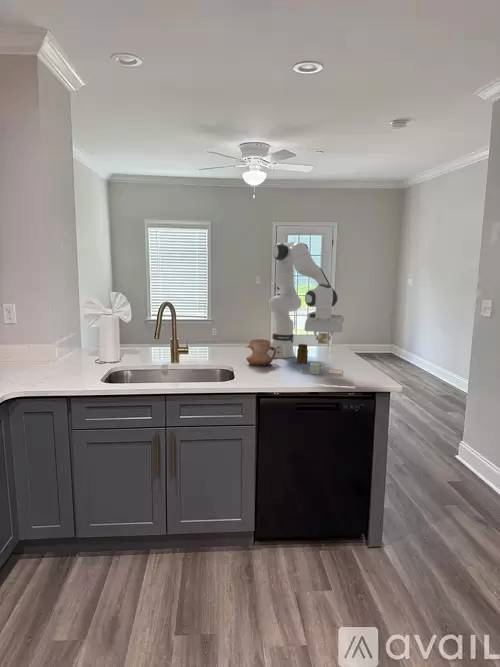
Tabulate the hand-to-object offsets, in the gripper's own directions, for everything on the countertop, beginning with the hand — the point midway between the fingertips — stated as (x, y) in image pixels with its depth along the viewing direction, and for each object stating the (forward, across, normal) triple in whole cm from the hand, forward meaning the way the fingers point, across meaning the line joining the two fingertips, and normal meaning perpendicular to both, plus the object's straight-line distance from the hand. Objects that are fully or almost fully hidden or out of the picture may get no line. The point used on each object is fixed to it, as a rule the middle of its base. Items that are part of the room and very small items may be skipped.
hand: (323, 340), depth 233 cm
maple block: (+2, 0, 0) cm, 2 cm away
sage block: (+17, +4, +6) cm, 18 cm away
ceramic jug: (+18, +36, -8) cm, 41 cm away
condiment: (+18, +12, -15) cm, 26 cm away
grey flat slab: (+18, 0, +2) cm, 18 cm away
